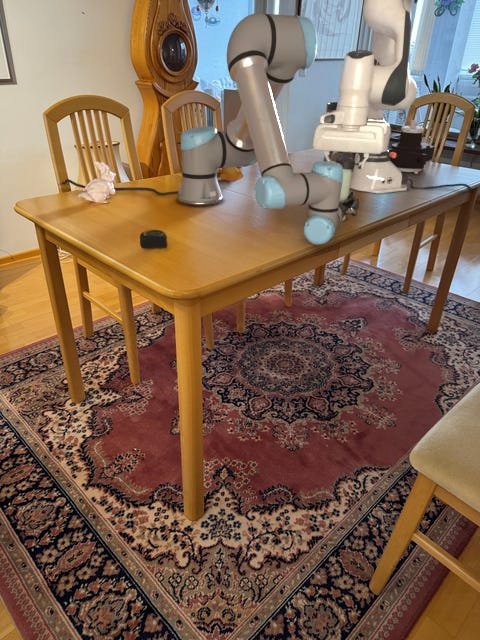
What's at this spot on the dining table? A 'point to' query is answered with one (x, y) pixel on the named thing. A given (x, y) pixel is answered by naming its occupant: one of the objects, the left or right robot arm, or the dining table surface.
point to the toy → (230, 173)
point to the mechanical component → (411, 149)
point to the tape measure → (153, 239)
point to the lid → (346, 163)
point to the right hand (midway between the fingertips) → (344, 167)
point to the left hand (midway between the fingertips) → (343, 195)
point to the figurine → (99, 185)
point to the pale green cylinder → (345, 186)
